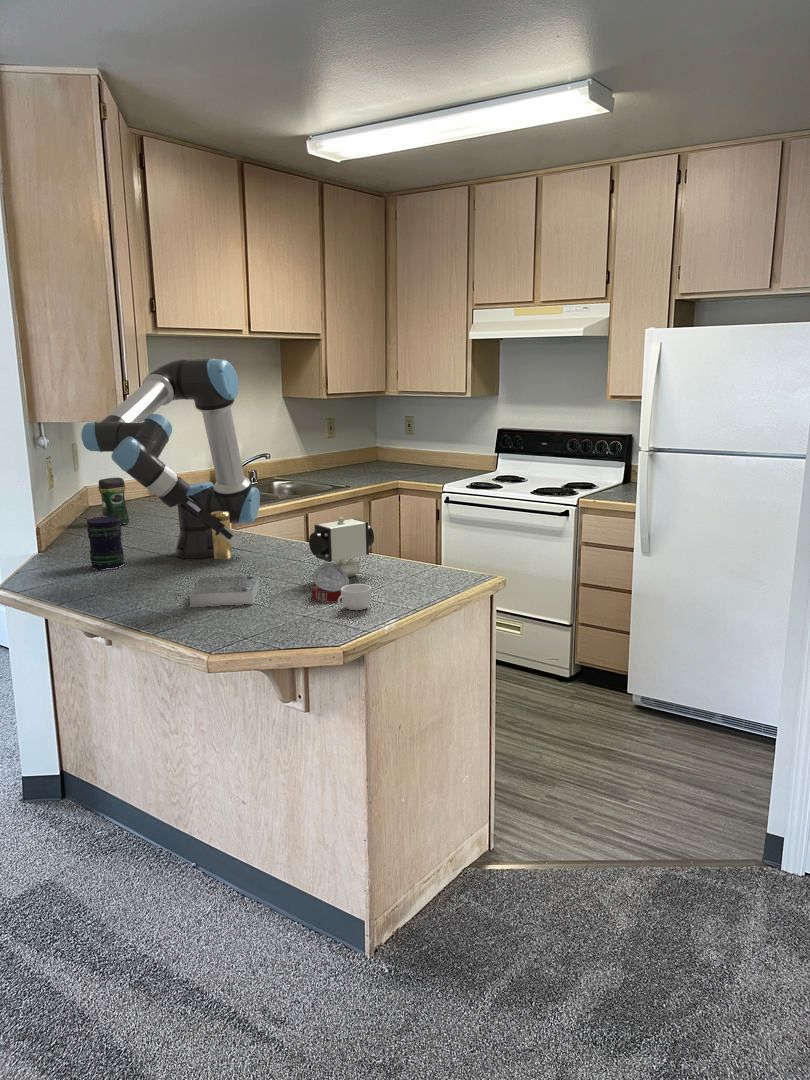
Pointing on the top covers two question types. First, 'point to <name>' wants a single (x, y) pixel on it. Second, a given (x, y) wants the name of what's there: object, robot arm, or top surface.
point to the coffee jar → (113, 498)
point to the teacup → (355, 596)
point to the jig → (224, 591)
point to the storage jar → (105, 542)
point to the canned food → (328, 582)
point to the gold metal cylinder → (219, 544)
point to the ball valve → (342, 543)
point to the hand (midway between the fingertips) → (235, 542)
